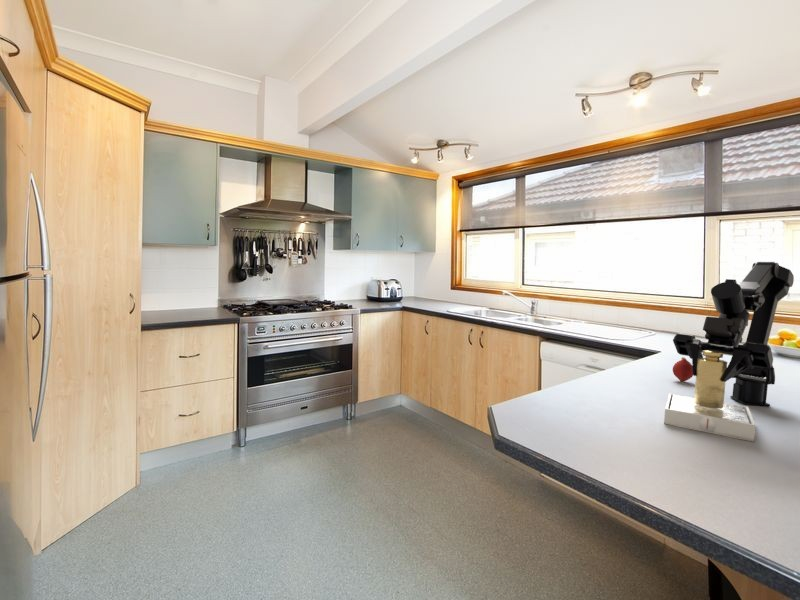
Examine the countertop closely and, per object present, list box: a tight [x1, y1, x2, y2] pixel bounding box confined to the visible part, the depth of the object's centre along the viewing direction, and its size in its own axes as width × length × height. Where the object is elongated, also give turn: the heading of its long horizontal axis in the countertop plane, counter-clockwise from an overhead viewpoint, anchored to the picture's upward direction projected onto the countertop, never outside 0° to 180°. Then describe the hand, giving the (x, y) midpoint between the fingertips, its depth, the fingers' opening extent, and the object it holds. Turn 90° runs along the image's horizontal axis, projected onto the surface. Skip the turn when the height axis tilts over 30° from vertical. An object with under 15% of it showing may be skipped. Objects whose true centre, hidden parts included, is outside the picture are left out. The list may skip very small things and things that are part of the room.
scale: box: [663, 393, 756, 442], centre depth 100 cm, size 16×16×4 cm
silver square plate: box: [670, 394, 749, 424], centre depth 100 cm, size 14×14×1 cm
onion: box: [672, 356, 694, 383], centre depth 139 cm, size 6×6×8 cm
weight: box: [693, 350, 728, 409], centre depth 100 cm, size 6×6×12 cm
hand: (708, 377), depth 99 cm, fingers closed on weight, 5 cm apart
